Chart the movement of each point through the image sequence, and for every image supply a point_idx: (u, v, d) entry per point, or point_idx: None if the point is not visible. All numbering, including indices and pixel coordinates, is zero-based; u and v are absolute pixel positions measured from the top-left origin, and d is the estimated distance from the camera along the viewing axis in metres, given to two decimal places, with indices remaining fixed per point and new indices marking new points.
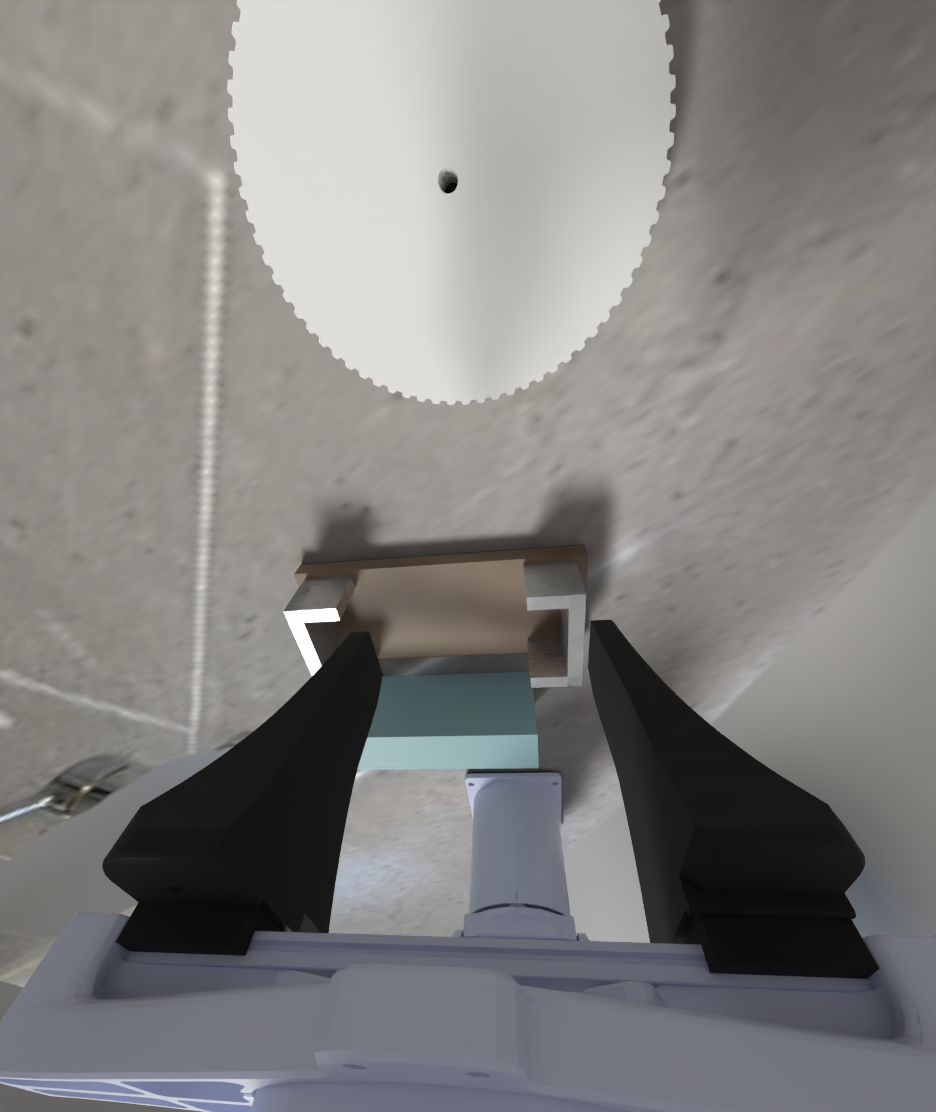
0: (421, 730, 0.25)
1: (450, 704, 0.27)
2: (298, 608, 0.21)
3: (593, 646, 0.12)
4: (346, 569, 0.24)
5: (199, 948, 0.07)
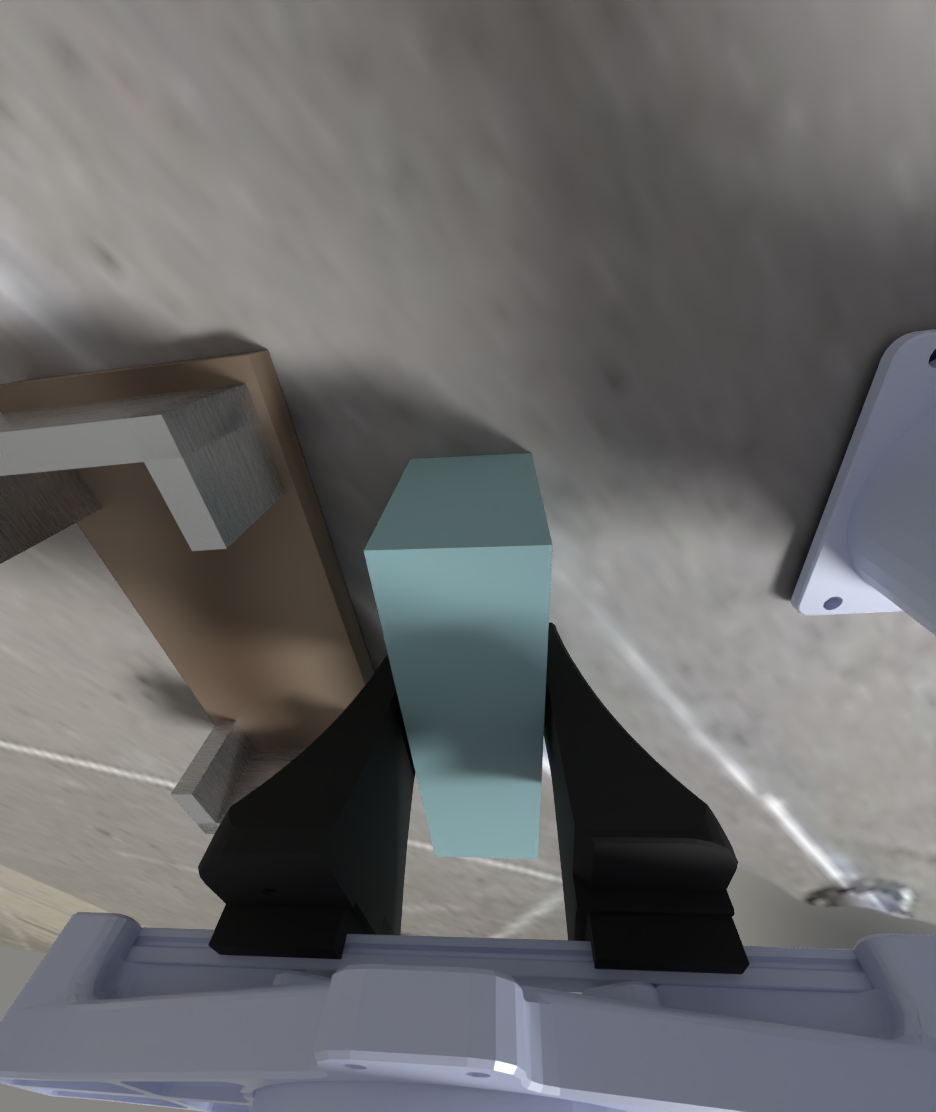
0: None
1: None
2: (199, 819, 0.16)
3: None
4: None
5: (293, 952, 0.07)
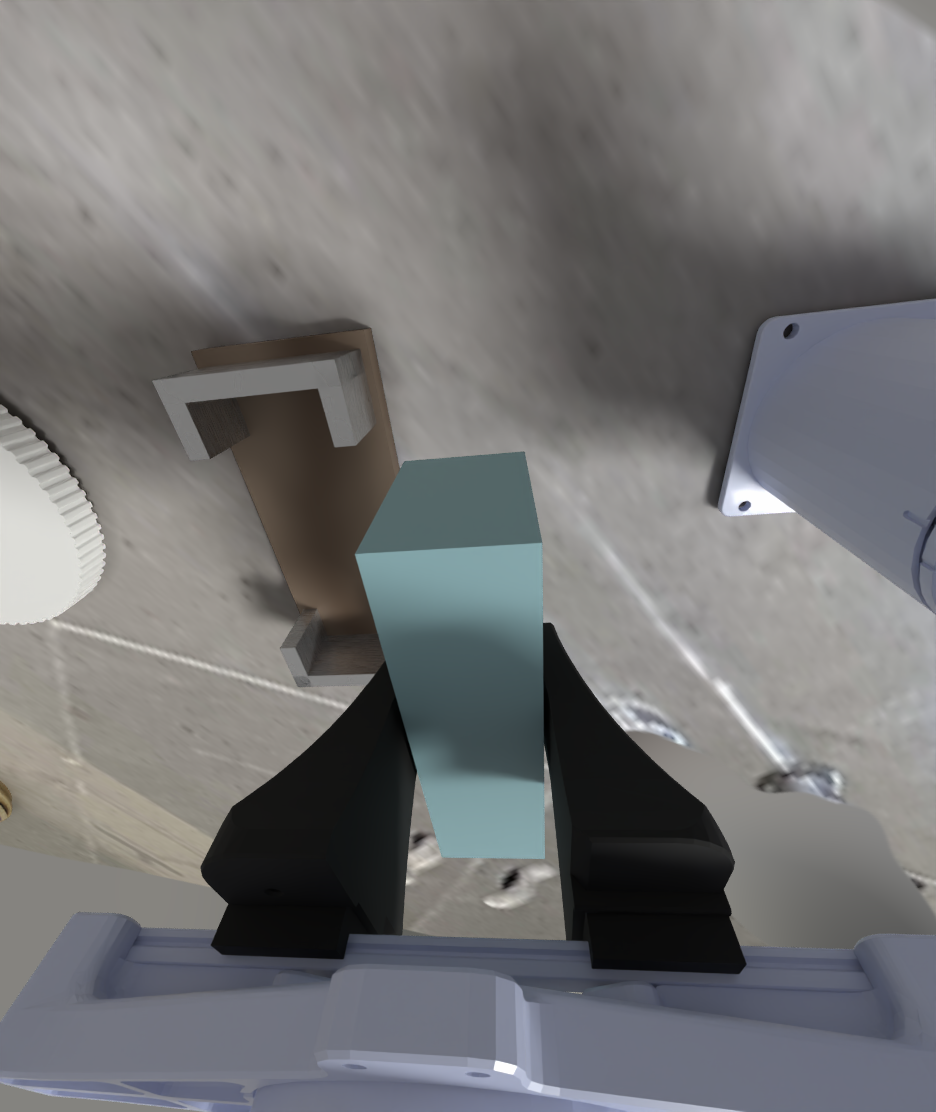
0: None
1: None
2: (294, 674, 0.22)
3: None
4: None
5: (296, 952, 0.07)
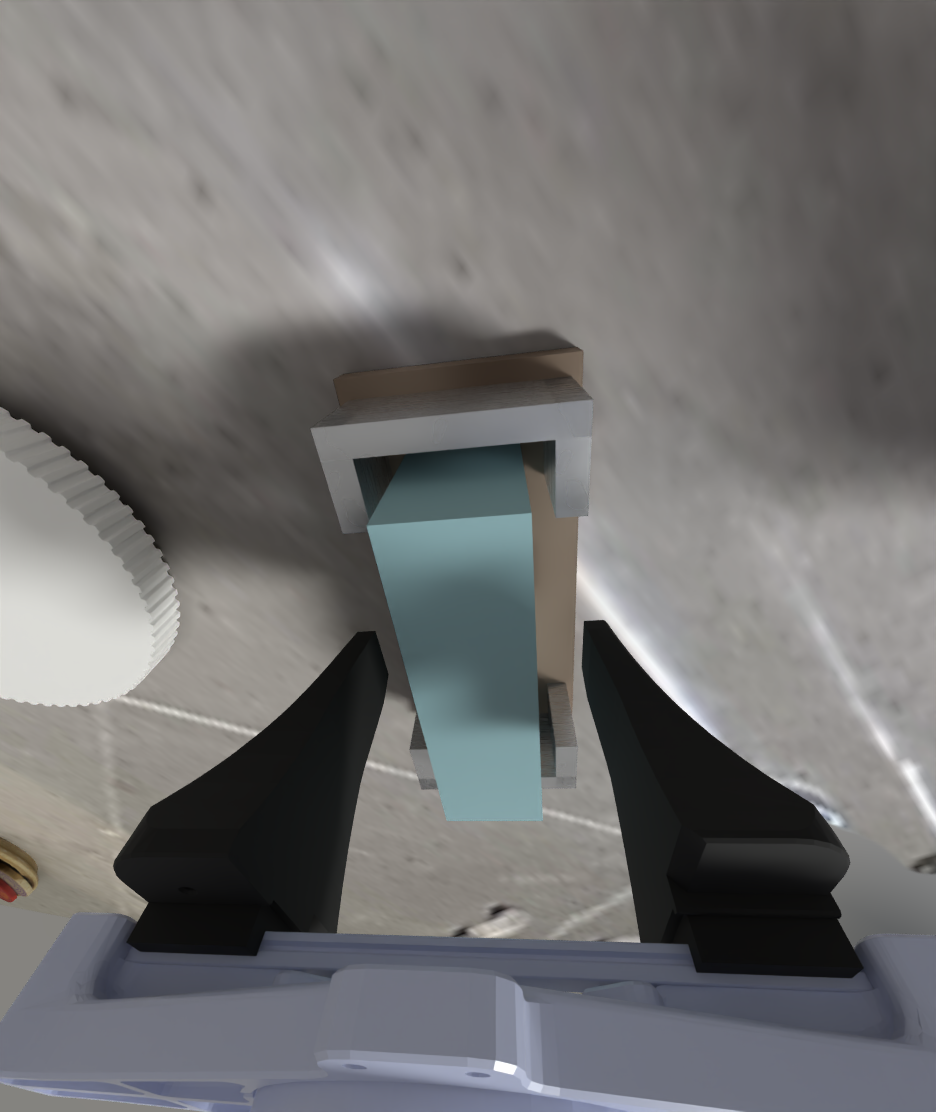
0: None
1: None
2: (419, 775, 0.17)
3: (586, 646, 0.13)
4: None
5: (209, 949, 0.07)
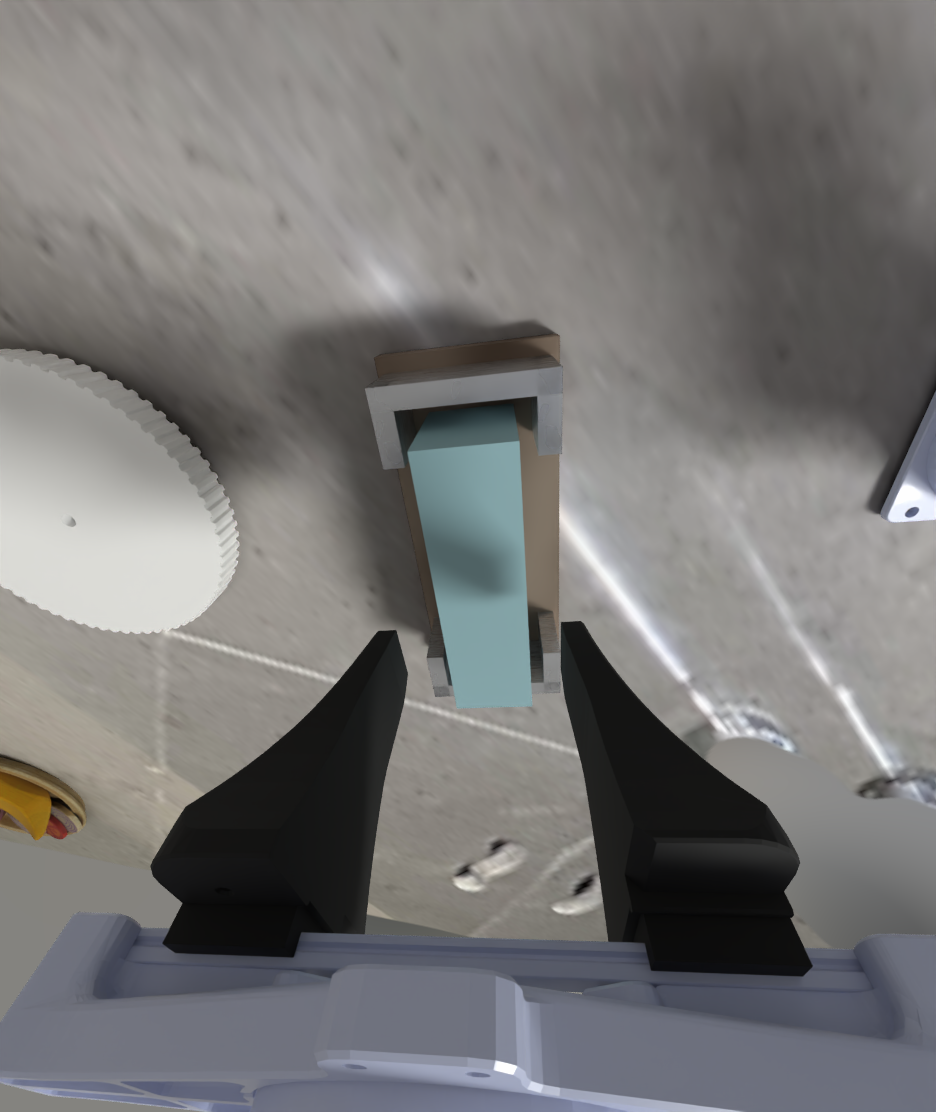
0: None
1: None
2: (433, 684, 0.21)
3: (563, 647, 0.13)
4: None
5: (246, 950, 0.07)
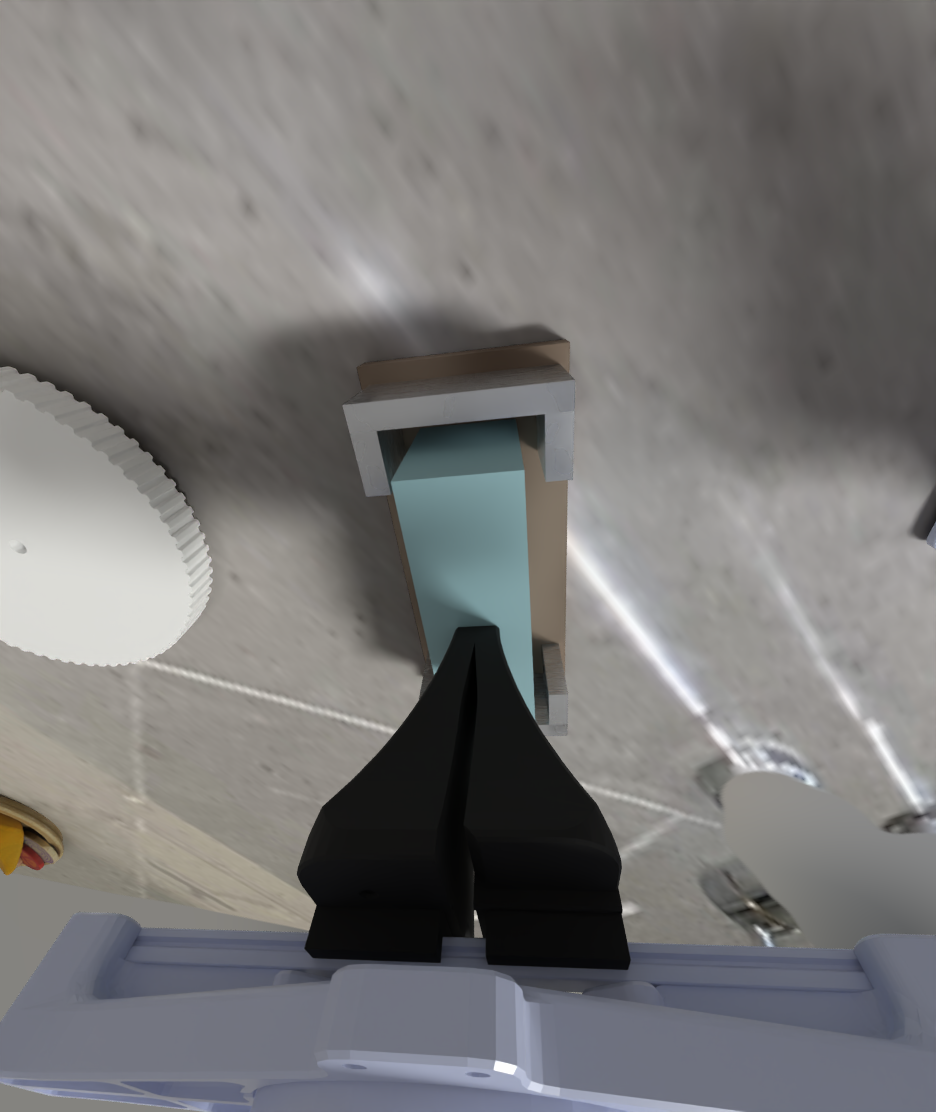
0: None
1: None
2: None
3: None
4: None
5: (393, 955, 0.07)
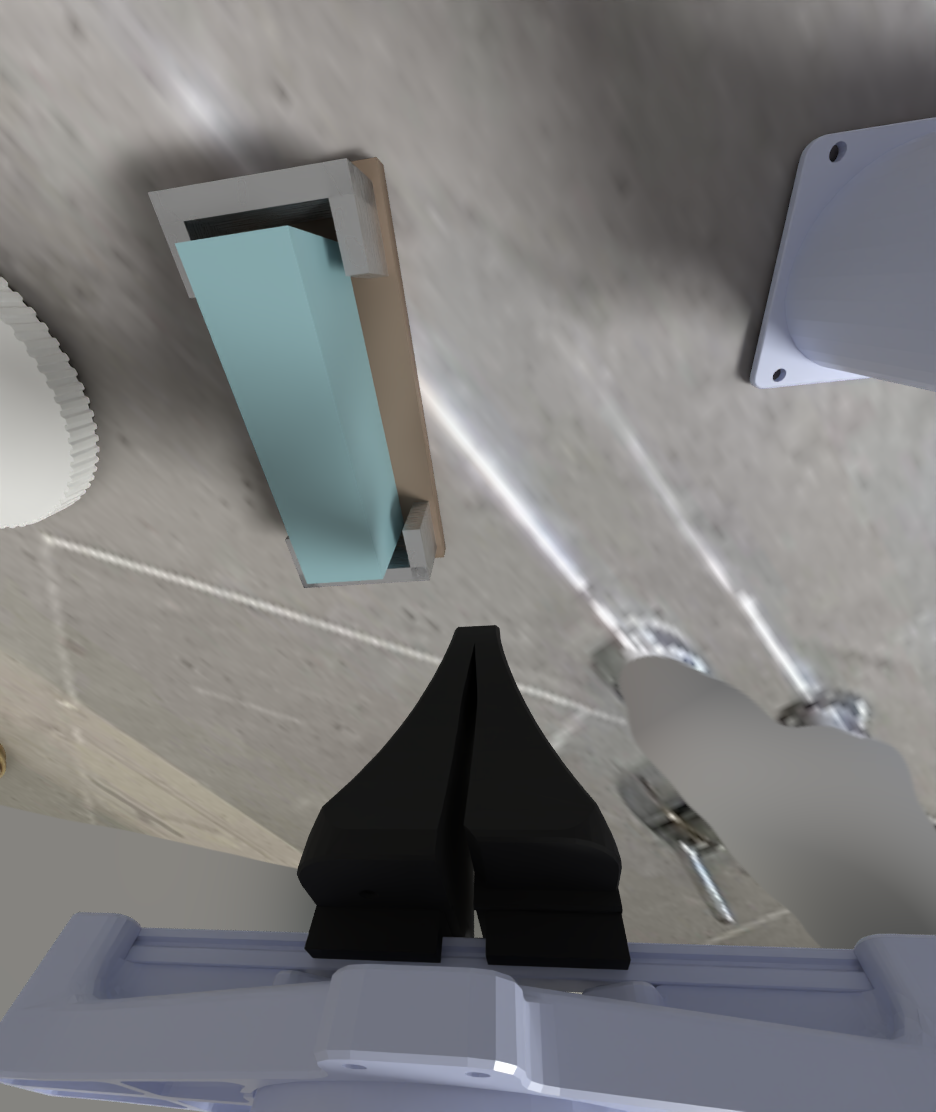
0: None
1: None
2: (300, 573, 0.21)
3: None
4: None
5: (393, 955, 0.07)
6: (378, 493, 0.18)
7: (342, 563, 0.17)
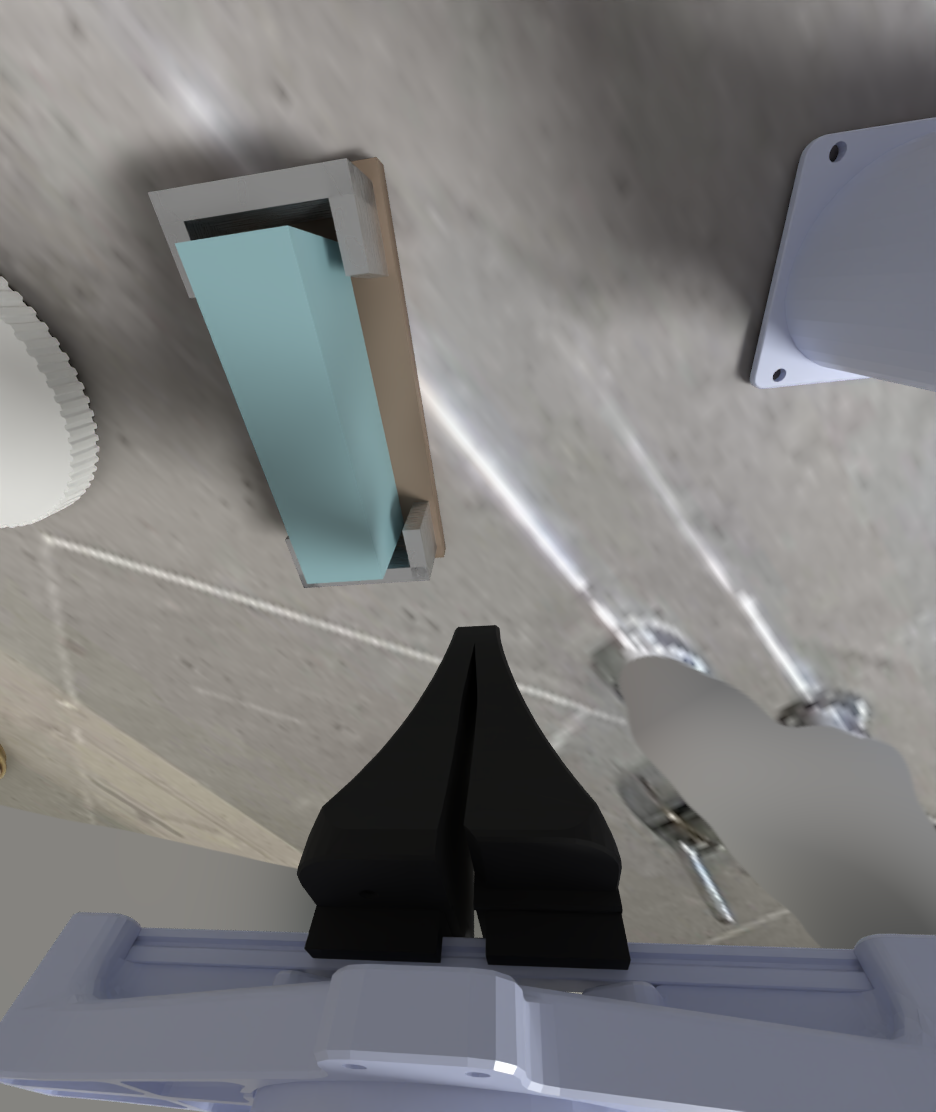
0: None
1: None
2: (300, 573, 0.21)
3: None
4: None
5: (393, 955, 0.07)
6: (378, 493, 0.18)
7: (342, 563, 0.17)
